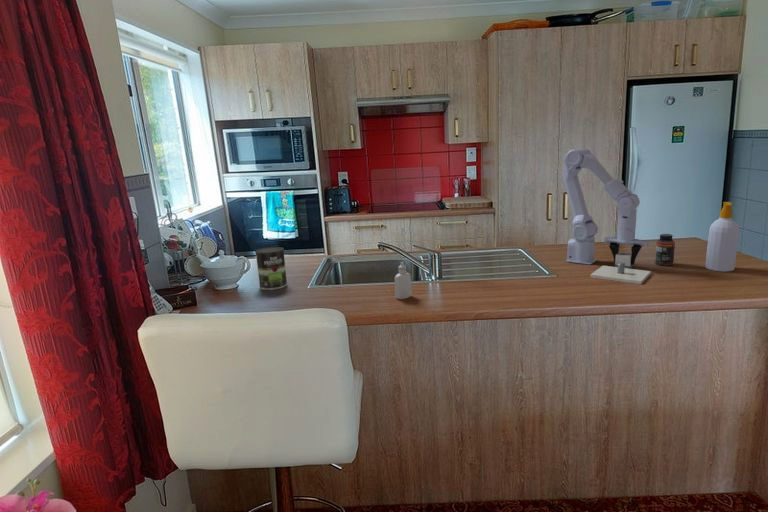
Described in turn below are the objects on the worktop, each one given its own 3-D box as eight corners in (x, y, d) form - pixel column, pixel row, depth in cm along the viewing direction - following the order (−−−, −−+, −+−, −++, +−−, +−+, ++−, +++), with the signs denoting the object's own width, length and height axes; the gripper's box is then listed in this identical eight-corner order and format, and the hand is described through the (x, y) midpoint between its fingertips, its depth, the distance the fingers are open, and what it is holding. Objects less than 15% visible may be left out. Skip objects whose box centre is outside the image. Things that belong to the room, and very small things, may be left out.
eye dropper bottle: (394, 296, 156) (392, 261, 154) (410, 294, 157) (409, 260, 154) (396, 300, 152) (394, 264, 149) (413, 298, 153) (411, 263, 150)
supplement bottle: (668, 261, 178) (671, 232, 175) (676, 266, 172) (679, 236, 169) (651, 262, 178) (654, 233, 176) (659, 266, 173) (661, 236, 170)
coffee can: (290, 286, 173) (286, 250, 170) (263, 292, 169) (258, 254, 165) (283, 280, 182) (279, 245, 179) (256, 285, 178) (252, 249, 174)
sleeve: (614, 267, 174) (615, 254, 173) (618, 264, 178) (619, 251, 177) (629, 269, 171) (630, 256, 170) (633, 266, 175) (634, 253, 173)
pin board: (590, 277, 164) (591, 264, 163) (602, 268, 175) (603, 256, 174) (640, 284, 154) (641, 271, 153) (650, 274, 164) (651, 261, 163)
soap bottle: (708, 271, 163) (716, 204, 157) (702, 264, 171) (709, 200, 166) (738, 273, 160) (747, 204, 154) (730, 266, 168) (738, 200, 163)
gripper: (602, 227, 173) (600, 263, 176) (646, 231, 163) (643, 268, 166) (608, 224, 178) (606, 259, 181) (650, 227, 168) (647, 264, 172)
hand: (624, 263), depth 174 cm, fingers closed on sleeve, 5 cm apart
